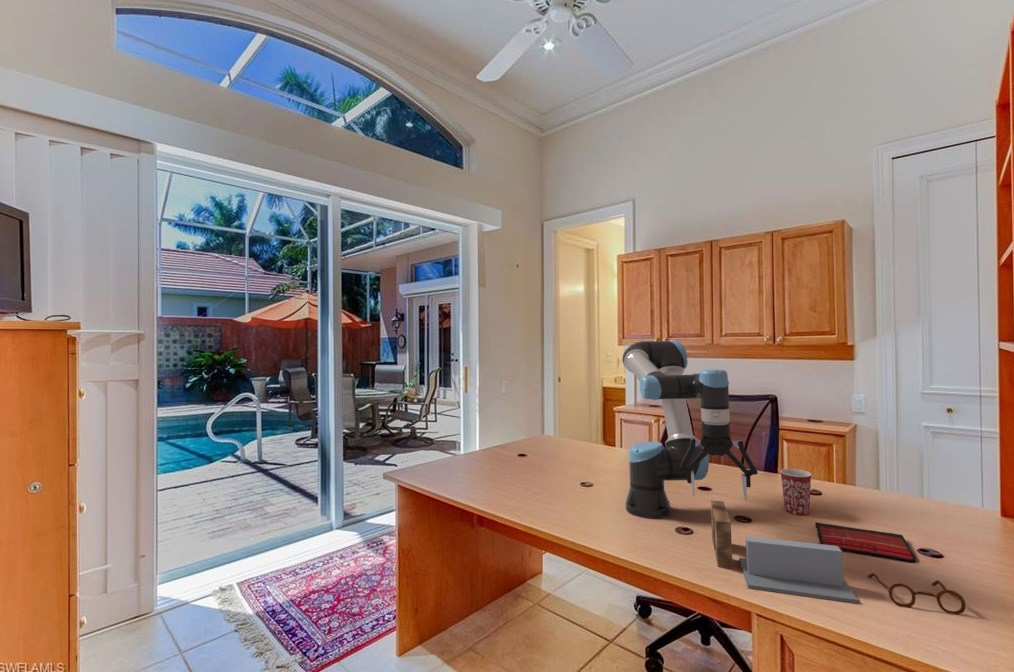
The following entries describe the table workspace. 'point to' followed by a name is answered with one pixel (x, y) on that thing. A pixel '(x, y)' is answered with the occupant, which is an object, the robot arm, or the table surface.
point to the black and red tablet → (866, 542)
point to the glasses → (924, 594)
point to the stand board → (795, 569)
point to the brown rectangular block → (721, 534)
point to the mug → (796, 491)
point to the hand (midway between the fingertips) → (718, 496)
